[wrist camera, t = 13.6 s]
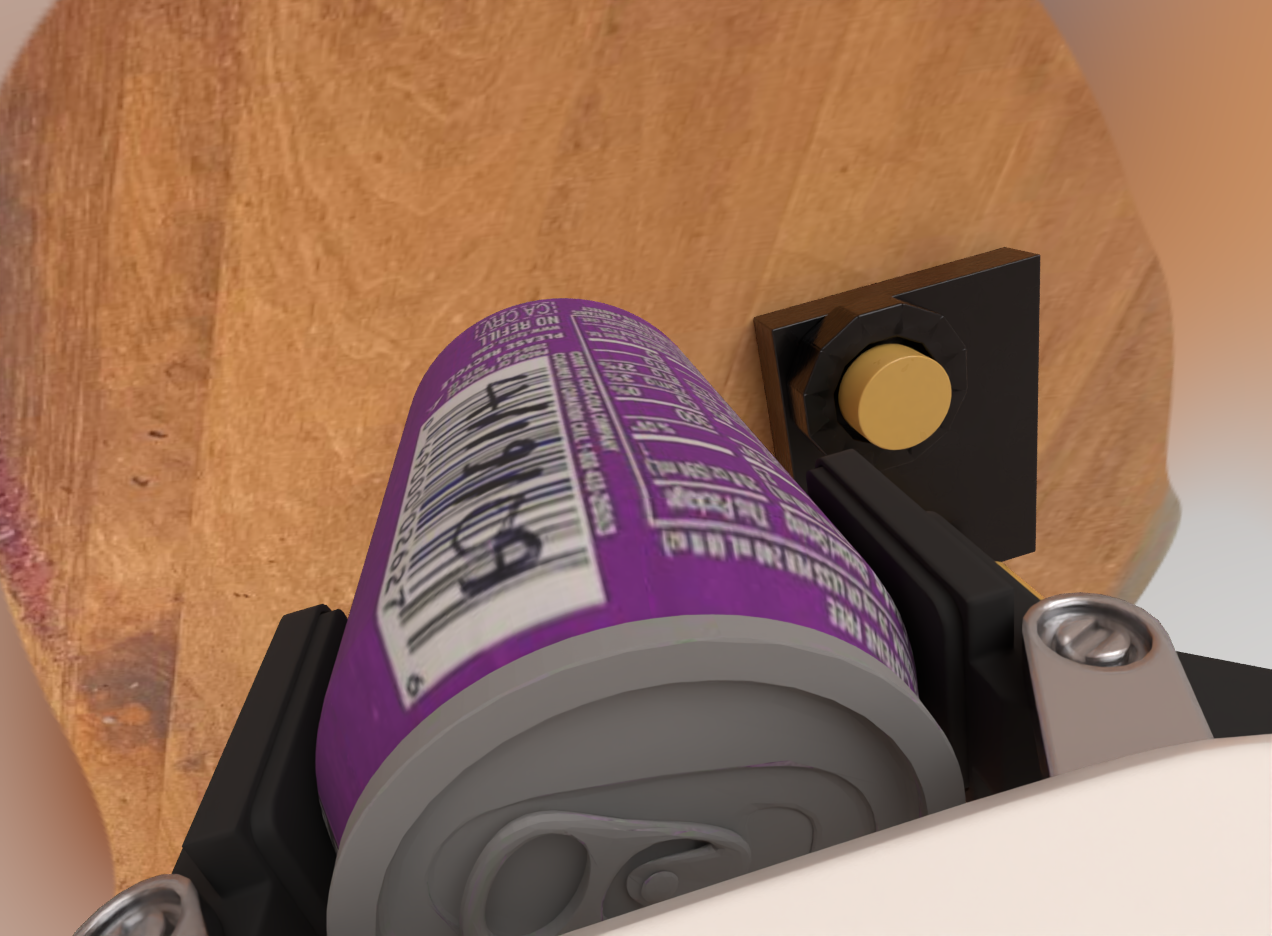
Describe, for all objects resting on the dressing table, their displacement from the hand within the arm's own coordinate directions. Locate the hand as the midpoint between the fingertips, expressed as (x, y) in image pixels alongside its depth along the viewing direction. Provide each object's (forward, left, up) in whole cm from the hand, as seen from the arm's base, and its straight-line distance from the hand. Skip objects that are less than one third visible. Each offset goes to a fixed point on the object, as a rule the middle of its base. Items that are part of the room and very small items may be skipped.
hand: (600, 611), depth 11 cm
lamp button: (+5, +12, -15) cm, 20 cm away
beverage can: (0, 0, -7) cm, 7 cm away
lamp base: (+9, +14, -19) cm, 25 cm away
